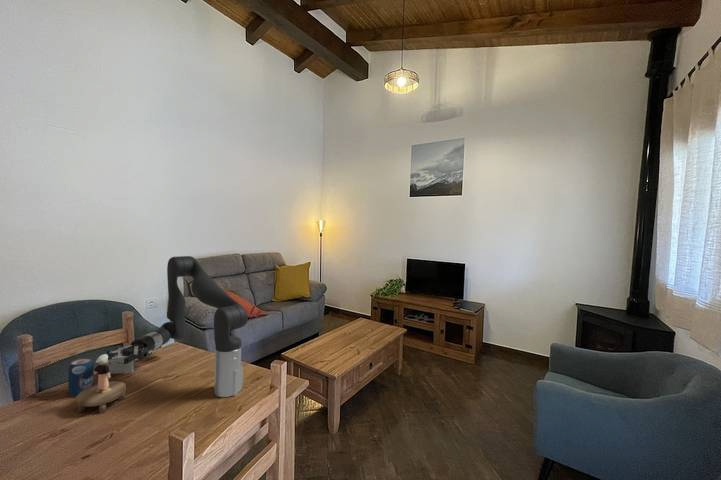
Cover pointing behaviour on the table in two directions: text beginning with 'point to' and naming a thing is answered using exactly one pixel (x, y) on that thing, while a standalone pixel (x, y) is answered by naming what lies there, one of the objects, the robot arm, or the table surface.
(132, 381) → the table surface
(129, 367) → the cassette
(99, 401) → the beige footstool
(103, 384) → the grandmother figurine
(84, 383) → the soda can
